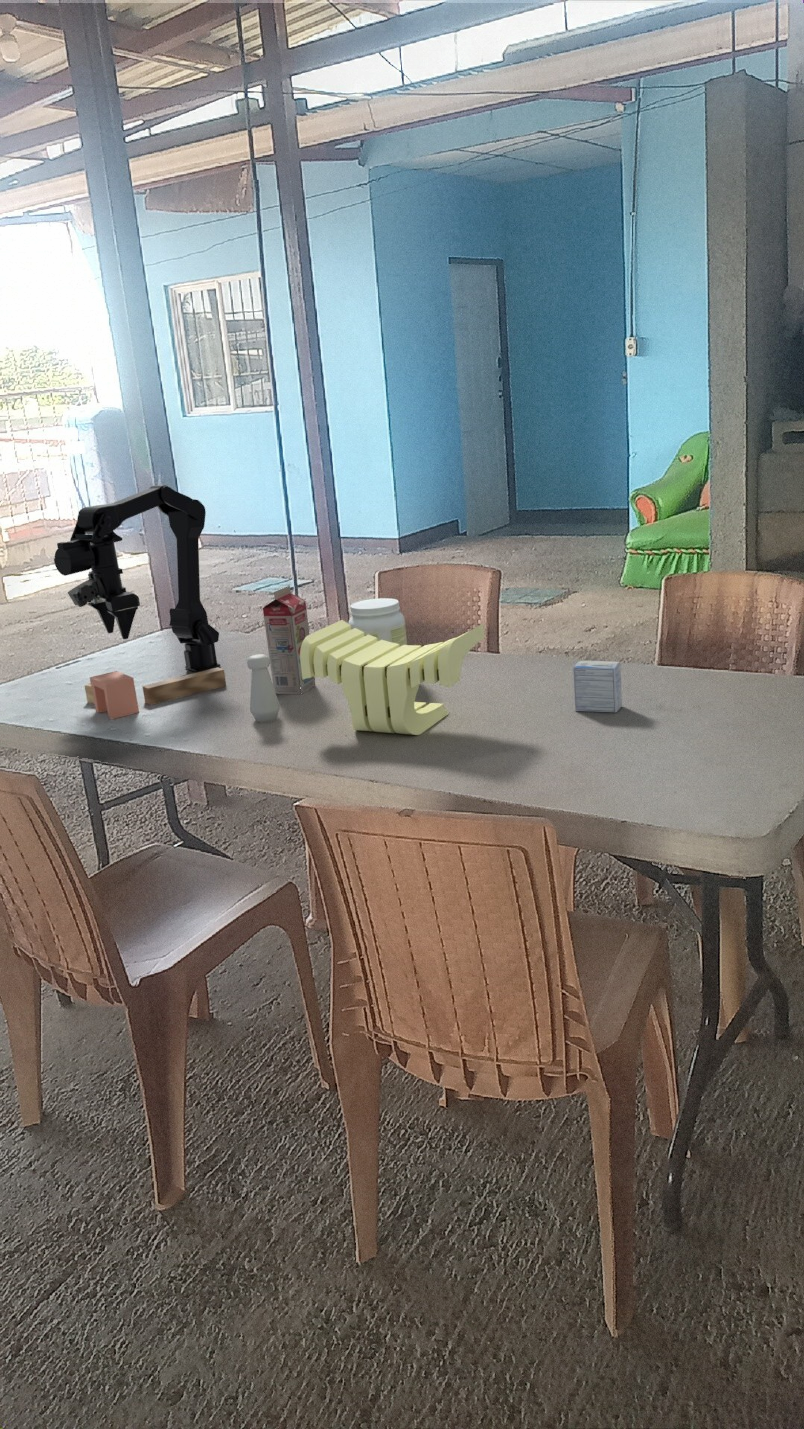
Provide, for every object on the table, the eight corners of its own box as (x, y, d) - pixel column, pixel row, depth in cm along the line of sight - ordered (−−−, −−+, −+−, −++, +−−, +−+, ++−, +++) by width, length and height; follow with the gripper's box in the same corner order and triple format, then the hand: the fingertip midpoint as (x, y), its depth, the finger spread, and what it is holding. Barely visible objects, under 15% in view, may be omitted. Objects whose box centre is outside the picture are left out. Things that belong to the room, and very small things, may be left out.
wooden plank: (220, 684, 242) (217, 667, 241) (226, 686, 240) (223, 669, 238) (145, 703, 232) (142, 686, 231) (150, 706, 230) (147, 688, 229)
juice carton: (273, 693, 229) (260, 592, 223) (288, 684, 235) (275, 585, 229) (301, 694, 227) (288, 591, 220) (315, 685, 233) (303, 585, 226)
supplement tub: (398, 669, 239) (391, 594, 234) (418, 681, 228) (411, 603, 223) (346, 678, 236) (338, 603, 231) (364, 691, 225) (356, 612, 220)
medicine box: (622, 706, 199) (621, 661, 197) (616, 713, 196) (615, 667, 193) (581, 704, 203) (579, 660, 200) (574, 711, 199) (572, 666, 196)
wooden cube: (101, 697, 240) (98, 680, 239) (113, 699, 238) (110, 681, 236) (87, 702, 237) (84, 685, 236) (99, 704, 235) (96, 686, 233)
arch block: (122, 704, 232) (116, 670, 230) (139, 712, 225) (133, 677, 223) (95, 711, 229) (89, 677, 227) (111, 719, 222) (105, 684, 220)
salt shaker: (285, 715, 214) (277, 651, 210) (273, 724, 208) (264, 659, 205) (259, 714, 216) (250, 651, 212) (246, 723, 210) (237, 659, 207)
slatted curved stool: (309, 732, 202) (297, 640, 196) (351, 706, 215) (341, 619, 210) (454, 744, 188) (446, 645, 182) (490, 716, 201) (483, 623, 196)
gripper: (54, 568, 235) (68, 637, 240) (82, 577, 220) (97, 650, 225) (103, 559, 241) (116, 627, 246) (134, 567, 226) (147, 639, 231)
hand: (117, 635), depth 237 cm, fingers open, 9 cm apart
